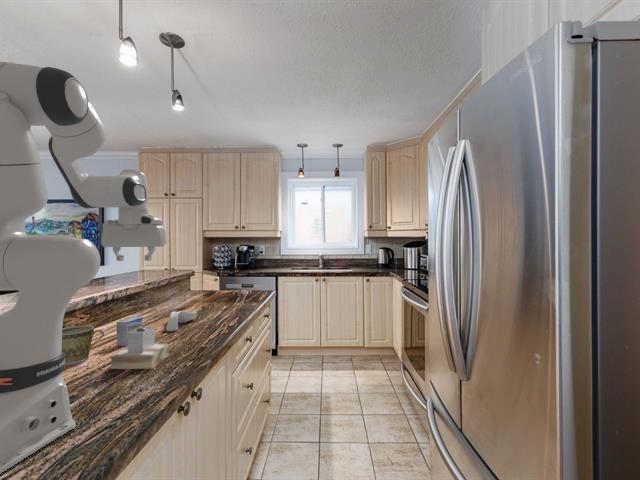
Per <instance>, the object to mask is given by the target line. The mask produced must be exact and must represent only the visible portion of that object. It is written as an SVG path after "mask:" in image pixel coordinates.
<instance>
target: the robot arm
mask: <svg viewBox="0 0 640 480" xmlns="http://www.w3.org/2000/svg"><path fill="white" fill-rule="evenodd" d="M88 97H89V96H88V94H87V92H86V89H85V87H84V86H83V84H82V83H81V82H80V81H79V80H78V78H77V77H75V76H74V75H73V74H72V73H70V72H68V71H66V70H64V69H61V68H57V67H52V66H45V67H43V66H37V65H29V64H24V63H23V64H22V63H16V62H13V61H12V62H11V61H0V291H1V292H2V291H18V295H17V296H18V297H17V300H16V302H15V304H14V306H13V307H12V309H9V310H7V311H5V312H3V313H1V314H0V474H1V473H2V472H4V471H6V470H7V469H9V468H11V467H12V466H14V465H15V464H17V463H18V462H20V461H21V460H23V459H24V458H26V457H28V456H29V455H30V454H32V453H34V452H35V451H37V450H38V449H40V448H41V447H43V446H45V445H46V444H48V443H50V442H51V441H53V440H54V439H56V438H57V437H59V436H61V435H63V434H65V433H67V432H68V431H70V430H72V429H74V428H75V427H76V428H77V426H76V421H75V420H74V419H73V416H72V413H71V406H70V404H71V403H70V396H69V391H68V386H67V384H66V382H65V379H64V375H63V374H64V373H63V372H64V370H65V368H66V366H65V359H64V352H62V329H63V326H64V325H63V324H64V318H65V317H64V316H65V314H66V310H67V308H68V305H70V302H71V300H72V299H73V297H74V296H75V295H76V294H77V293H78V292H79V290H81V289H82V288H84V286H86V285H87V284H89V283H90V282H92V280H93V279H94V278H95V277H96V275H97V274H98V273H99V271H100V270H99V269H100V267H101V255H100V251H99V250H98V248H97V246H96V245H95V244H94V243H93V242H92V241H91V240H89V239H87V238H83V237H82V238H81V237H77V236H73V235H72V236H71V235H65V234H27V231H26V221H27V218H29V217H30V218H31V217H32V216H33V215H36V214H37V213H39V212H40V211H42V210H43V209H44V207H45V206H46V205H47V203H48V199H49V194H48V190H47V186H46V180H45V175H44V173H43V172H44V171H43V167H42V163H41V158H40V157H41V156H40V154H39V150H38V147H37V144H36V141H35V138H34V135H33V133H32V131H31V128H32V126H33V127H34V126H36V127H39V126H40V127H41V126H42V127H43V126H44V127H45V128H46V129H47V131H48V132H49V133H50V135H51V136H50V137H49V140H48V150H49V154H50V155H51V157H52V161H54V163H55V165H56V167H57V169H58V171H59V172H60V174H61V175H62V177H63V179H64V181H65V182H66V184H67V186H68V188H69V192H70V194H71V195H70V196H71V198H72V199H73V200H74V202H75V203H76V204H78V205H79V206H80V207H82V208H83V209H98V208H118V210H117V213H118V215H117V216H118V217H117V218H118V219H108V220H106V221H104V222H103V223H102V231H101V232H102V233H101V240H100V243H101V246H102V247H103V248H112V253H114V255H115V259H116V261H117V262H123V261H124V260H125V258H124V257H125V255H124V254H123V255H122V254H121V252H120V251H121V248H147V251H148V252H147V254H145V255H144V261H152V260H153V259H152V258H153V257H152V256H153V254H154V253H155V250H156V248H161V247H162V248H163V247H164V246H165V245H166V244H167V236H166V230H165V227H164V226H163V225H164V219H162V218H159V217H155V216H153V215H150V214H149V208H148V201H149V185H148V180H147V176H146V175H145V174H144V173H143V172H142V171H140V170H139V171H138V170H135V169H123V170H121V171H120V174H119V175H94V174H93V175H92V174H90V173H87V172H86V170H85V169H84V167H83V165H82V162H81V161H80V160H81V159H85V158H88V157H90V156H93V155H94V154H96V153H97V152H98V151H100V150H101V148H103V146H104V145H105V142H106V139H107V131H106V128H105V126H104V123H103V122H102V119H101V118H100V116H99V115H98V113H97V111H96V110H95V108H94V106H93V105H92V103H91V102H90V101H89V98H88ZM76 428H75V429H76ZM75 429H74V430H75ZM72 431H73V430H72ZM67 434H68V433H67ZM28 458H29V457H28ZM20 463H21V462H20ZM17 465H18V464H17ZM15 466H16V465H15ZM15 466H14V467H15ZM12 468H13V467H12ZM12 468H11V469H12ZM9 470H10V469H9ZM7 471H8V470H7ZM7 471H6V472H7ZM4 473H5V472H4ZM2 474H3V473H2ZM2 474H1V475H2Z"/></svg>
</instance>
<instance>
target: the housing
mask: <svg viewBox="0 0 640 480" xmlns="http://www.w3.org/2000/svg"><path fill="white" fill-rule="evenodd" d="M155 327H156V326H143V327H139V328H137V329H135V330H133V331H131V332H129V333H128V346H127V347H128V353H143V352H145V351H147V350H148V349H150V348H151V347H153V346H154V345H155V344H156V337H155V336H156V332H155V331H156V328H155Z"/></svg>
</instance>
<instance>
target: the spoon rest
mask: <svg viewBox="0 0 640 480" xmlns="http://www.w3.org/2000/svg"><path fill="white" fill-rule="evenodd" d="M168 315H169V317H168V320H167V323H166V332H177V331H179V324H181V323H183V324H184V323H188V321H189V322H191V320H193V319H194V318H195V317H196V315H197V311H184V310H179V311H171V312H170V313H169V314H168ZM178 323H179V324H178Z"/></svg>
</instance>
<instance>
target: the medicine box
mask: <svg viewBox="0 0 640 480" xmlns="http://www.w3.org/2000/svg"><path fill="white" fill-rule="evenodd" d="M143 321H144V320H143V317H140V316H133V317H130V318H127V319H124V320H123V319H122V320H120V321H117V322H116V324H115V326H116V327H115V328H116V346H118V347H119V346H120V347H128V333H129V332H131V331H133V330H135V329H137V328H139V327H144V326H143Z"/></svg>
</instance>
